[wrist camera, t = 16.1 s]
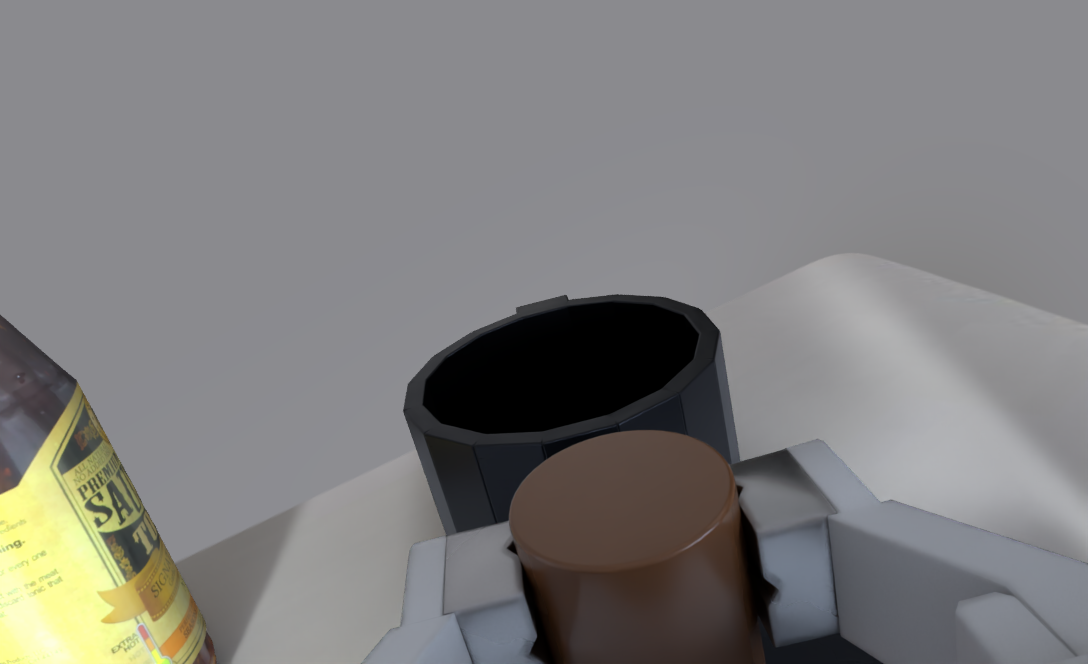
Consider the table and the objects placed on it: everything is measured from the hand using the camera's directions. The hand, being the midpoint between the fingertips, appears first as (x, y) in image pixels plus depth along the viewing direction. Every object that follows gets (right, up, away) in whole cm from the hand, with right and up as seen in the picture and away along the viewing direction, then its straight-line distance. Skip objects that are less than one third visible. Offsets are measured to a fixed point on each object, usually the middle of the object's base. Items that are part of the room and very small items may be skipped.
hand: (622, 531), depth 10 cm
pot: (+1, -6, +19) cm, 20 cm away
